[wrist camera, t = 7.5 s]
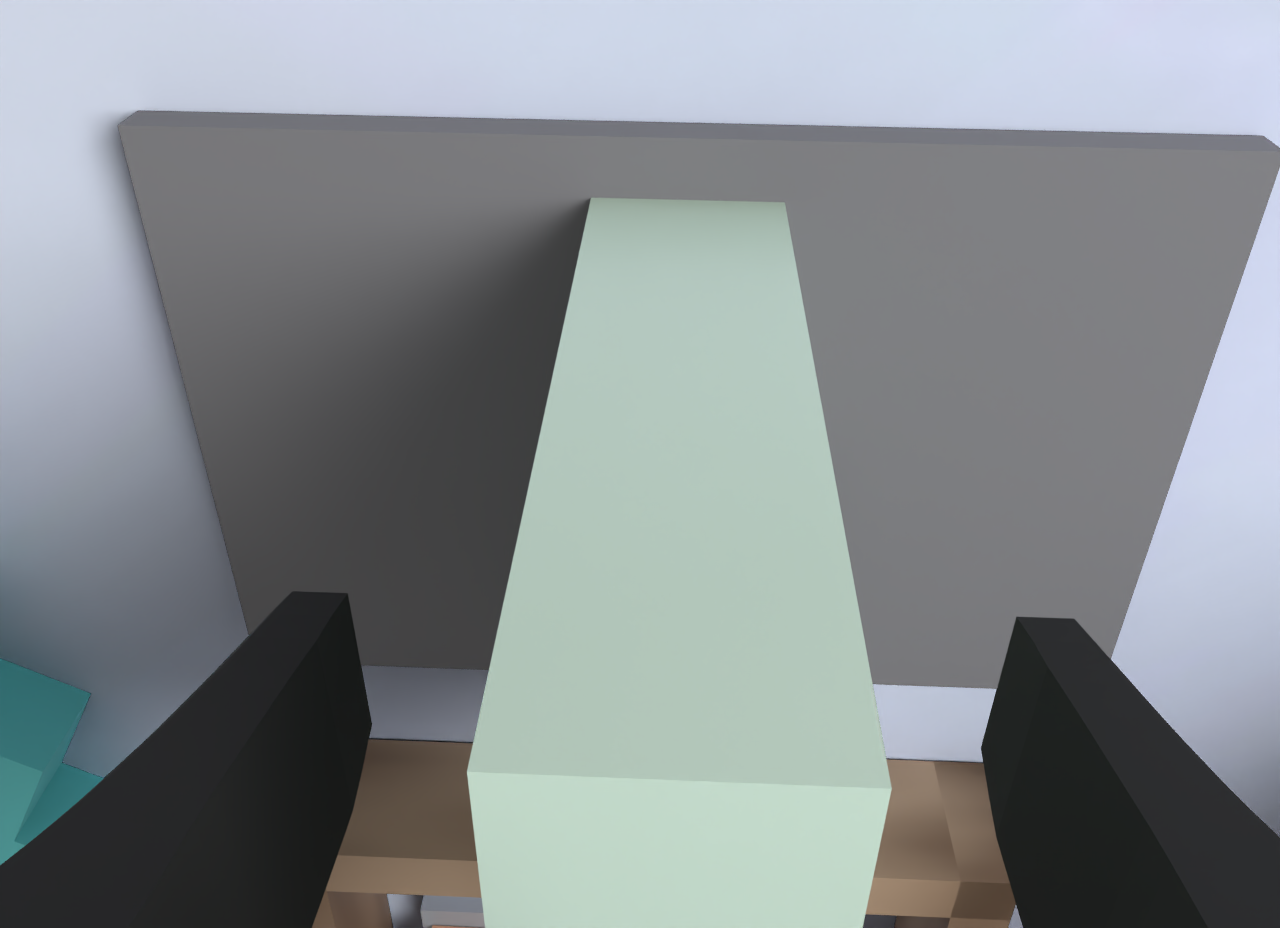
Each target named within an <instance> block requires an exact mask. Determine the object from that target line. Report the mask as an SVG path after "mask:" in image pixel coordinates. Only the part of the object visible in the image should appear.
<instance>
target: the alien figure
mask: <svg viewBox="0 0 1280 928" xmlns="http://www.w3.org/2000/svg"><path fill="white" fill-rule="evenodd" d="M90 695H91V693H88V692H86V691H83V690H80V689H78V688H75V687H73V686H70V685H68V684H65V683H62V682H60V681H57V680H55V679H52V678H50V677H47V676H45V675H42V674H39V673H37V672H34V671H32V670H29V669H27V668H24V667H21V666H19V665H16V664H14V663H11V662H9V661H6V660H3V659H1V658H0V865H1V864H2V863H4V862H5V861H6V860H7V859H9V858H10V857H11V856H13V855H14V854H15V853H16V852H18V851H19V850H20V849H21V848H23V847H24V846H25V845H27V844H28V843H29V842H30V841H32V840H33V839H34V838H35V837H36V836H38V835H39V834H40V833H41V832H43V831H44V830H45V829H46V828H47V827H49V826H50V825H51V824H52V823H53V822H55V821H56V820H57V819H58V818H59V817H60V816H62V815H63V814H64V813H65V812H66V811H68V810H69V809H70V808H71V807H72V806H73V805H75V804H76V803H77V802H78V801H79V800H80V799H82V798H83V797H84V796H85V795H86V794H87V793H88V792H89V791H90V790H92V789H93V788H94V787H95V786H96V785H97V784H98V783H99V782H100V781H101V780H103V779H104V778H102V777H99V776H96V775H94V774H91V773H88V772H85V771H83V770H80V769H77V768H75V767H72V766H69V765H67V764H64V763H62V761H63V758H64V756H65V753H66V751H67V749H68V746H69V744H70V742H71V739H72V737H73V735H74V732H75V730H76V728H77V725H78V723H79V721H80V718H81V716H82V714H83V711H84V709H85V707H86V704H87V702H88V699H89V697H90Z"/></svg>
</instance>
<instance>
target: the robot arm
mask: <svg viewBox="0 0 1280 928" xmlns="http://www.w3.org/2000/svg"><path fill="white" fill-rule="evenodd" d="M371 726H372V722H371V717H370V711H369V706H368V701H367V695H366V690H365V684H364V679H363V673H362V668H361V662H360V657H359V652H358V646H357V641H356V635H355V630H354V624H353V619H352V614H351V608H350V603H349V597H348V593H329V592H301V591H292V592H291V593H290V594H289V595H288V596H287V597H286V598H284V599H283V600H282V602H281V603H280V604H279V605H278V606H277V607H276V608H275V609H274V610H273V611H272V612H271V613H270V614H269V615H268V616H267V617H266V618H265V619H264V620H263V621H262V622H261V623H260V624H259V625H258V627H257V628H256V629H255V630H254V631H253V632H252V633H251V634H250V635H249V636H248V637H247V638H246V639H245V640H244V641H243V642H242V643H241V644H240V646H239V647H238V648H237V649H236V650H235V651H234V652H233V653H232V654H231V655H230V656H229V657H228V658H227V659H226V660H225V661H224V662H223V663H222V664H221V665H220V666H219V667H218V668H217V670H216V671H215V672H214V673H213V674H212V675H211V676H210V677H209V678H208V679H207V680H206V681H205V682H204V683H203V684H202V685H201V686H200V687H199V688H198V689H197V690H196V691H195V692H194V693H193V694H192V695H191V696H190V697H189V698H188V699H187V700H186V701H185V702H184V703H183V704H182V705H181V706H180V707H179V708H178V709H177V710H176V711H175V712H174V713H173V714H172V715H171V716H170V717H169V718H168V719H167V720H166V721H165V722H164V723H163V724H162V725H161V726H160V727H159V728H158V729H157V730H156V731H155V732H154V733H153V734H151V735H150V736H149V737H148V738H147V739H146V740H145V741H144V742H143V743H142V744H141V745H140V746H139V747H138V748H137V749H136V750H134V751H133V752H132V753H131V754H130V755H129V756H128V757H127V758H126V759H125V760H123V761H122V762H121V763H120V764H119V765H118V766H117V767H116V768H115V769H114V770H112V771H111V772H110V773H109V774H108V775H107V776H106V777H105V778H104V779H103V780H101V781H100V782H99V783H98V784H97V785H96V786H95V787H94V788H93V789H92V790H90V791H89V792H88V793H87V794H86V795H85V796H84V797H83V798H82V799H80V800H79V801H78V802H77V803H76V804H75V805H73V806H72V807H71V808H70V809H69V810H68V811H66V812H65V813H64V814H63V815H62V816H60V817H59V818H58V819H57V820H56V821H55V822H53V823H52V824H51V825H50V826H49V827H47V828H46V829H45V830H44V831H43V832H41V833H40V834H39V835H38V836H36V837H35V838H34V839H33V840H32V841H30V842H29V843H28V844H27V845H25V846H24V847H23V848H21V849H20V850H19V851H18V852H16V853H15V854H14V855H13V856H11V857H10V858H9V859H7V860H6V861H5V862H4V863H2V864H1V865H0V928H312V926H313V923H314V920H315V918H316V915H317V912H318V909H319V906H320V904H321V901H322V898H323V895H324V892H325V890H326V887H327V884H328V881H329V878H330V875H331V873H332V870H333V867H334V864H335V861H336V858H337V855H338V853H339V850H340V847H341V844H342V841H343V838H344V835H345V833H346V830H347V827H348V824H349V821H350V818H351V815H352V812H353V808H354V804H355V800H356V795H357V791H358V787H359V782H360V778H361V774H362V769H363V764H364V760H365V755H366V750H367V745H368V741H369V736H370V731H371ZM981 751H982V757H983V763H984V770H985V776H986V782H987V788H988V795H989V800H990V806H991V811H992V817H993V822H994V827H995V833H996V838H997V841H998V845H999V848H1000V852H1001V855H1002V859H1003V862H1004V865H1005V869H1006V872H1007V875H1008V879H1009V882H1010V885H1011V889H1012V892H1013V895H1014V899H1015V902H1016V905H1017V909H1018V912H1019V915H1020V919H1021V922H1022V925H1023V928H1280V837H1278V836H1277V835H1276V834H1275V833H1274V832H1273V831H1272V830H1271V829H1270V828H1269V827H1268V826H1267V825H1266V824H1265V823H1264V822H1263V821H1262V820H1261V819H1260V818H1259V817H1258V816H1256V815H1255V814H1254V813H1253V812H1252V811H1251V810H1250V809H1249V808H1248V807H1247V806H1246V805H1245V804H1244V803H1243V802H1242V801H1241V800H1240V799H1239V798H1238V797H1237V796H1236V795H1235V794H1234V793H1233V792H1232V791H1231V790H1230V789H1229V788H1228V787H1227V786H1226V785H1225V784H1224V783H1223V782H1222V781H1221V780H1220V778H1219V777H1218V776H1217V775H1216V774H1215V773H1214V772H1213V771H1212V770H1211V769H1210V768H1209V767H1208V766H1207V765H1206V764H1205V763H1204V762H1203V761H1202V760H1201V758H1200V757H1199V756H1198V755H1197V754H1196V753H1195V752H1194V751H1193V750H1192V749H1191V748H1190V747H1189V746H1188V745H1187V744H1186V743H1185V742H1184V741H1183V740H1182V738H1181V737H1180V736H1179V735H1178V734H1177V733H1176V732H1175V731H1174V730H1173V729H1172V728H1171V726H1170V725H1169V724H1168V723H1167V722H1166V721H1165V720H1164V719H1163V718H1162V717H1161V715H1160V714H1159V713H1158V712H1157V711H1156V710H1155V709H1154V708H1153V706H1152V705H1151V704H1150V703H1149V702H1148V701H1147V700H1146V699H1145V698H1144V696H1143V695H1142V694H1141V693H1140V692H1139V691H1138V690H1137V689H1136V687H1135V686H1134V685H1133V684H1132V683H1131V682H1130V681H1129V680H1128V678H1127V677H1126V676H1125V675H1124V674H1123V673H1122V672H1121V671H1120V669H1119V668H1118V667H1117V666H1116V665H1115V664H1114V663H1113V661H1112V660H1111V659H1110V658H1109V657H1108V656H1107V655H1106V654H1105V652H1104V651H1103V650H1102V649H1101V648H1100V647H1099V646H1098V645H1097V643H1096V642H1095V641H1094V640H1093V639H1092V638H1091V637H1090V636H1089V634H1088V633H1087V632H1086V631H1085V630H1084V629H1083V628H1082V627H1081V625H1080V624H1079V623H1078V622H1077V621H1076V620H1075V619H1072V618H1043V617H1016V620H1015V624H1014V627H1013V631H1012V635H1011V639H1010V642H1009V646H1008V650H1007V653H1006V657H1005V661H1004V664H1003V668H1002V672H1001V676H1000V679H999V683H998V687H997V690H996V694H995V698H994V702H993V705H992V709H991V713H990V716H989V720H988V724H987V728H986V731H985V735H984V739H983V742H982V746H981Z"/></svg>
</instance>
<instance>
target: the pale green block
mask: <svg viewBox="0 0 1280 928" xmlns="http://www.w3.org/2000/svg"><path fill="white" fill-rule="evenodd" d="M467 777H468V786H469V794H470V803H471V811H472V820H473V828H474V837H475V845H476V854H477V863H478V871H479V880H480V888H481V897H482V905H483V914H484V922H485V928H863V923H864V919H865V914H866V909H867V904H868V900H869V895H870V890H871V885H872V880H873V876H874V871H875V866H876V861H877V857H878V852H879V847H880V842H881V838H882V833H883V828H884V823H885V819H886V814H887V809H888V804H889V799H890V795H891V790H892V788H891V782H890V777H889V771H888V766H887V760H886V755H885V749H884V744H883V738H882V733H881V727H880V722H879V716H878V711H877V705H876V700H875V694H874V689H873V683H872V678H871V673H870V667H869V662H868V656H867V651H866V645H865V640H864V634H863V629H862V623H861V618H860V612H859V607H858V601H857V596H856V590H855V585H854V579H853V574H852V568H851V563H850V557H849V552H848V546H847V541H846V536H845V530H844V525H843V519H842V514H841V508H840V503H839V497H838V492H837V486H836V481H835V475H834V470H833V464H832V459H831V453H830V448H829V442H828V437H827V431H826V426H825V420H824V415H823V409H822V404H821V399H820V393H819V388H818V382H817V377H816V371H815V366H814V360H813V355H812V349H811V344H810V338H809V333H808V327H807V322H806V316H805V311H804V305H803V300H802V294H801V289H800V283H799V278H798V272H797V267H796V262H795V256H794V251H793V245H792V240H791V234H790V229H789V223H788V218H787V212H786V207H785V202H748V201H708V200H667V199H627V198H591V200H590V205H589V209H588V214H587V219H586V223H585V228H584V232H583V237H582V242H581V246H580V251H579V256H578V260H577V265H576V269H575V274H574V279H573V283H572V288H571V293H570V297H569V302H568V306H567V311H566V316H565V320H564V325H563V330H562V334H561V339H560V343H559V348H558V353H557V357H556V362H555V367H554V371H553V376H552V380H551V385H550V390H549V394H548V399H547V404H546V408H545V413H544V417H543V422H542V427H541V431H540V436H539V441H538V445H537V450H536V454H535V459H534V464H533V468H532V473H531V478H530V482H529V487H528V491H527V496H526V501H525V505H524V510H523V515H522V519H521V524H520V528H519V533H518V538H517V542H516V547H515V552H514V556H513V561H512V565H511V570H510V575H509V579H508V584H507V589H506V593H505V598H504V602H503V607H502V612H501V616H500V621H499V626H498V630H497V635H496V639H495V644H494V649H493V653H492V658H491V663H490V667H489V672H488V676H487V681H486V686H485V690H484V695H483V700H482V704H481V709H480V713H479V718H478V723H477V727H476V732H475V737H474V741H473V746H472V750H471V755H470V760H469V764H468V769H467Z"/></svg>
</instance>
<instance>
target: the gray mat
mask: <svg viewBox="0 0 1280 928" xmlns="http://www.w3.org/2000/svg"><path fill="white" fill-rule="evenodd" d="M118 129H119V133H120V137H121V141H122V144H123V148H124V152H125V156H126V160H127V164H128V168H129V172H130V176H131V179H132V183H133V187H134V191H135V195H136V199H137V203H138V207H139V211H140V214H141V218H142V222H143V226H144V230H145V234H146V238H147V242H148V245H149V249H150V253H151V257H152V261H153V265H154V269H155V273H156V277H157V280H158V284H159V288H160V292H161V296H162V300H163V304H164V308H165V311H166V315H167V319H168V323H169V327H170V331H171V335H172V339H173V343H174V346H175V350H176V354H177V358H178V362H179V366H180V370H181V374H182V378H183V381H184V385H185V389H186V393H187V397H188V401H189V405H190V409H191V412H192V416H193V420H194V424H195V428H196V432H197V436H198V440H199V444H200V447H201V451H202V455H203V459H204V463H205V467H206V471H207V475H208V478H209V482H210V486H211V490H212V494H213V498H214V502H215V506H216V510H217V513H218V517H219V521H220V525H221V529H222V533H223V537H224V541H225V545H226V548H227V552H228V556H229V560H230V564H231V568H232V572H233V576H234V579H235V583H236V587H237V591H238V595H239V599H240V603H241V607H242V611H243V614H244V618H245V622H246V626H247V630H248V634H249V635H250V634H251V633H252V632H253V631H254V630H255V629H256V628H257V627H258V625H259V624H260V623H261V622H262V621H263V620H264V619H265V618H266V617H267V616H268V615H269V614H270V613H271V612H272V611H273V610H274V609H275V608H276V607H277V606H278V605H279V604H280V603H281V602H282V600H283V599H284V598H286V597H287V596H288V595H289V594H290V593H291V592H292V591H301V592H329V593H348V597H349V603H350V608H351V614H352V619H353V624H354V630H355V635H356V641H357V646H358V652H359V657H360V662H361V665H369V666H396V667H423V668H451V669H478V670H489V667H490V663H491V658H492V653H493V649H494V644H495V639H496V635H497V630H498V626H499V621H500V616H501V612H502V607H503V602H504V598H505V593H506V589H507V584H508V579H509V575H510V570H511V565H512V561H513V556H514V552H515V547H516V542H517V538H518V533H519V528H520V524H521V519H522V515H523V510H524V505H525V501H526V496H527V491H528V487H529V482H530V478H531V473H532V468H533V464H534V459H535V454H536V450H537V445H538V441H539V436H540V431H541V427H542V422H543V417H544V413H545V408H546V404H547V399H548V394H549V390H550V385H551V380H552V376H553V371H554V367H555V362H556V357H557V353H558V348H559V343H560V339H561V334H562V330H563V325H564V320H565V316H566V311H567V306H568V302H569V297H570V293H571V288H572V283H573V279H574V274H575V269H576V265H577V260H578V256H579V251H580V246H581V242H582V237H583V232H584V228H585V223H586V219H587V214H588V209H589V205H590V200H591V198H627V199H667V200H708V201H748V202H785V207H786V212H787V218H788V223H789V229H790V234H791V240H792V245H793V251H794V256H795V262H796V267H797V272H798V278H799V283H800V289H801V294H802V300H803V305H804V311H805V316H806V322H807V327H808V333H809V338H810V344H811V349H812V355H813V360H814V366H815V371H816V377H817V382H818V388H819V393H820V399H821V404H822V409H823V415H824V420H825V426H826V431H827V437H828V442H829V448H830V453H831V459H832V464H833V470H834V475H835V481H836V486H837V492H838V497H839V503H840V508H841V514H842V519H843V525H844V530H845V536H846V541H847V546H848V552H849V557H850V563H851V568H852V574H853V579H854V585H855V590H856V596H857V601H858V607H859V612H860V618H861V623H862V629H863V634H864V640H865V645H866V651H867V656H868V662H869V667H870V673H871V678H872V683H873V684H884V685H911V686H938V687H965V688H992V689H997V687H998V683H999V679H1000V676H1001V672H1002V668H1003V664H1004V661H1005V657H1006V653H1007V650H1008V646H1009V642H1010V639H1011V635H1012V631H1013V627H1014V624H1015V620H1016V617H1043V618H1072V619H1075V620H1076V621H1077V622H1078V623H1079V624H1080V625H1081V627H1082V628H1083V629H1084V630H1085V631H1086V632H1087V633H1088V634H1089V636H1090V637H1091V638H1092V639H1093V640H1094V641H1095V642H1096V643H1097V645H1098V646H1099V647H1100V648H1101V649H1102V650H1103V651H1104V652H1105V654H1106V655H1107V656H1108V657H1109V658H1110V659H1111V656H1112V653H1113V651H1114V648H1115V645H1116V642H1117V639H1118V636H1119V633H1120V630H1121V627H1122V624H1123V621H1124V619H1125V616H1126V613H1127V610H1128V607H1129V604H1130V601H1131V598H1132V595H1133V592H1134V589H1135V587H1136V584H1137V581H1138V578H1139V575H1140V572H1141V569H1142V566H1143V563H1144V560H1145V557H1146V555H1147V552H1148V549H1149V546H1150V543H1151V540H1152V537H1153V534H1154V531H1155V528H1156V525H1157V523H1158V520H1159V517H1160V514H1161V511H1162V508H1163V505H1164V502H1165V499H1166V496H1167V494H1168V491H1169V488H1170V485H1171V482H1172V479H1173V476H1174V473H1175V470H1176V467H1177V464H1178V462H1179V459H1180V456H1181V453H1182V450H1183V447H1184V444H1185V441H1186V438H1187V435H1188V432H1189V430H1190V427H1191V424H1192V421H1193V418H1194V415H1195V412H1196V409H1197V406H1198V403H1199V400H1200V398H1201V395H1202V392H1203V389H1204V386H1205V383H1206V380H1207V377H1208V374H1209V371H1210V368H1211V366H1212V363H1213V360H1214V357H1215V354H1216V351H1217V348H1218V345H1219V342H1220V339H1221V336H1222V334H1223V331H1224V328H1225V325H1226V322H1227V319H1228V316H1229V313H1230V310H1231V307H1232V304H1233V302H1234V299H1235V296H1236V293H1237V290H1238V287H1239V284H1240V281H1241V278H1242V275H1243V272H1244V270H1245V267H1246V264H1247V261H1248V258H1249V255H1250V252H1251V249H1252V246H1253V243H1254V240H1255V238H1256V235H1257V232H1258V229H1259V226H1260V223H1261V220H1262V217H1263V214H1264V211H1265V208H1266V206H1267V203H1268V200H1269V197H1270V194H1271V191H1272V188H1273V185H1274V182H1275V179H1276V176H1277V174H1278V171H1279V168H1280V148H1279V147H1278V146H1276V145H1275V144H1274V143H1272V142H1271V141H1270V140H1268V139H1267V138H1266V137H1264V136H1250V135H1205V134H1160V133H1115V132H1070V131H1026V130H981V129H936V128H891V127H846V126H801V125H757V124H712V123H667V122H622V121H577V120H532V119H488V118H443V117H398V116H353V115H308V114H263V113H219V112H174V111H137V112H136V113H134V114H133V115H131V116H130V117H129V118H127V119H126V120H124V121H123V122H122V123H120V124H119V125H118Z"/></svg>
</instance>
